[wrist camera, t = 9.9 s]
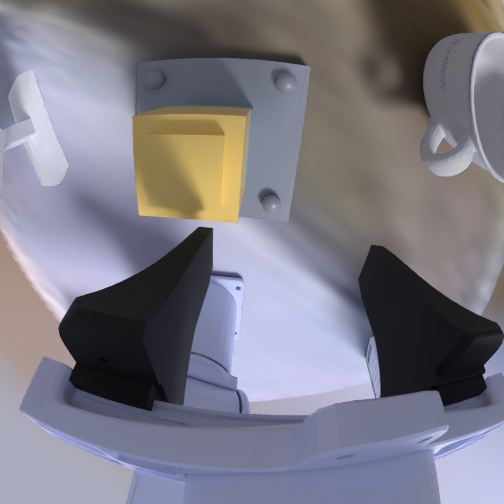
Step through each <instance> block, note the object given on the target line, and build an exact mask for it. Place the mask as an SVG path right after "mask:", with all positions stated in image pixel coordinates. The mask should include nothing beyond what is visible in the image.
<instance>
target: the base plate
mask: <svg viewBox="0 0 504 504" xmlns="http://www.w3.org/2000/svg"><path fill="white" fill-rule="evenodd" d="M310 69H311V67H310V66H304V65H298V64H291V63H283V62H275V61H266V60H254V59H238V58H185V59H169V60H157V61H148V62H140V63H138V69H137V98H136V115H138V114H141V113H144V112H148V111H152V110H155V109H159V108H163V107H167V106H215V107H236V108H250V109H251V116H250V127H249V138H248V149H247V161H246V173H245V185H244V192H243V197H242V202H241V208H240V213H239V217H248V218H258V219H268V220H278V221H287V222H288V219H289V213H290V207H291V201H292V195H293V189H294V183H295V177H296V170H297V164H298V157H299V151H300V144H301V137H302V130H303V123H304V116H305V108H306V101H307V93H308V85H309V77H310Z"/></svg>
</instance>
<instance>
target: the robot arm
mask: <svg viewBox="0 0 504 504" xmlns="http://www.w3.org/2000/svg"><path fill="white" fill-rule="evenodd" d="M212 267H213V228H207V227H198V228H197V229H196V230H195V231H194V232H192V233H191V234H190V235H189V236H188V237H187V238H186V239H185V240H184V241H182V242H181V243H180V244H179V245H178V246H177V247H175V248H174V249H173V250H172V251H170V252H169V253H168V254H167V255H165V256H164V257H163V258H161V259H160V260H159V261H157V262H156V263H154V264H153V265H151V266H149V267H148V268H146V269H144V270H143V271H141V272H139V273H137V274H135V275H133V276H131V277H129V278H128V279H126V280H124V281H121V282H119V283H117V284H115V285H112V286H110V287H107V288H105V289H102V290H99V291H96V292H93V293H89V294H86V295H83V296H79V297H76V299H75V300H74V302H73V303H72V305H71V306H70V308H69V310H68V311H67V313H66V314H65V316H64V318H63V319H62V321H61V323H60V325H59V334H60V337H61V339H62V341H63V343H64V344H65V346H66V348H67V349H68V350H69V352H70V354H71V355H72V357H73V358H74V360H75V361H76V365H75V367H74V369H72V368H70V367H69V366H67V365H66V364H64V363H61V362H58V361H56V360H53V359H51V358H48V357H45V356H44V357H43V358H42V360H41V362H40V364H39V366H38V368H37V370H36V372H35V374H34V376H33V378H32V381H31V383H30V385H29V387H28V389H27V391H26V394H25V396H24V398H23V401H22V403H21V406H20V408H19V409H20V411H21V412H22V413H23V414H24V415H25V416H27V417H28V418H29V419H31V420H32V421H34V422H35V423H36V424H37V425H39V426H40V427H41V428H43V429H44V430H46V431H47V432H48V433H50V434H51V435H53V436H55V437H56V438H59V439H60V440H62V441H64V442H66V443H69V444H71V445H73V446H75V447H77V448H79V449H81V450H84V451H86V452H88V453H91V454H93V455H95V456H98V457H100V458H103V459H105V460H108V461H110V462H113V463H116V464H119V465H122V466H124V467H127V468H130V469H133V470H134V475H133V479H132V482H131V486H130V490H129V494H128V499H127V502H126V504H440V495H439V487H438V480H437V473H436V467H435V462H434V461H435V460H437V459H439V458H442V457H444V456H447V455H449V454H451V453H453V452H456V451H458V450H460V449H462V448H464V447H466V446H468V445H470V444H472V443H474V442H476V441H478V440H480V439H482V438H484V437H485V436H487V435H488V434H490V433H491V432H493V431H494V430H496V429H497V428H499V427H500V426H502V425H503V424H504V377H503V375H502V373H498V374H495V375H492V376H490V377H488V378H486V379H485V380H484V378H483V375H482V374H484V373H485V368H484V364H485V363H486V362H487V361H488V360H489V359H490V358H491V357H492V355H493V354H494V353H495V352H496V351H497V350H498V349H499V347H500V346H501V344H502V342H503V338H504V334H503V332H502V330H501V328H500V326H499V325H498V324H497V323H496V322H493V321H491V320H489V319H486V318H484V317H482V316H479V315H477V314H475V313H473V312H471V311H469V310H467V309H466V308H464V307H462V306H460V305H459V304H457V303H455V302H454V301H452V300H451V299H449V298H448V297H446V296H445V295H443V294H442V293H440V292H439V291H438V290H436V289H435V288H433V287H432V286H431V285H430V284H428V283H427V282H426V281H425V280H423V279H422V278H421V277H420V276H419V275H417V274H416V273H415V272H414V271H413V270H412V269H410V268H409V267H408V266H407V265H406V264H405V263H403V262H402V261H401V260H400V259H399V258H398V257H396V256H395V255H394V254H393V253H391V252H390V251H389V250H387V249H386V248H385V247H383V246H376V245H371V247H370V250H369V253H368V256H367V258H366V261H365V264H364V266H363V269H362V271H361V274H360V276H359V279H358V280H359V286H360V291H361V296H362V300H363V303H364V306H365V310H366V313H367V316H368V319H369V322H370V325H371V328H372V332H373V335H374V339H375V343H376V349H377V356H378V364H379V374H380V398H374V399H365V400H354V401H349V402H343V403H336V404H333V405H330V406H327V407H324V408H321V409H318V410H317V411H315V412H314V413H312V414H311V415H260V414H251V409H250V404H249V402H248V399H247V396H246V394H245V393H244V392H243V391H242V390H239V389H237V379H238V378H237V377H234V376H232V375H231V366H232V357H233V347H234V341H236V340H238V339H239V332H240V321H241V310H242V299H243V288H244V281H243V280H242V279H240V278H232V277H222V276H212V275H211V272H212ZM237 286H239V287H240V288H238V287H237Z"/></svg>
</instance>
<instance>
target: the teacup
mask: <svg viewBox="0 0 504 504" xmlns="http://www.w3.org/2000/svg"><path fill="white" fill-rule="evenodd" d="M423 89H424V96H425V101H426V105H427V108H428V111H429V114H430V116H431V118H430V120H429V122H428V129H427V130H426V132H425V134H424V136H423V138H422V141H421V144H420V155H421V158H422V160H423V162H424V164H425V165H426V167H427V168H428V169H429V170H430V171H431V172H432V173H434V174H436V175H439V176H452V175H456V174H458V173H460V172H462V171H463V170H465V169H466V168H467V167H468V165H469V164H470V163H471V160H472V161H473V162H475V163H476V164H478V165H479V166H481V167H483V168H484V169H486V170H487V171H489V172H490V173H491V174H492V175H493V176H494V177H495V178H496V179H497V180H499V181H501V182H503V183H504V32H491V33H461V34H455V35H451V36H448V37H445V38H443V39H442V40H440V41H439V42H438V43H437V44H436V45H435V46H434V47H433V48H432V50H431V51H430V53H429V55H428V57H427V60H426V63H425V67H424V74H423ZM443 138H444V139H445V140H446V141H447V142H448V143H449V144H450V145H451V146H452V147H453V148H454V149H453V150H451V151H449V152H447V153H444V154H435V152H436V149H437V147H438V145H439V143H440V141H441V140H442V139H443Z"/></svg>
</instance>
